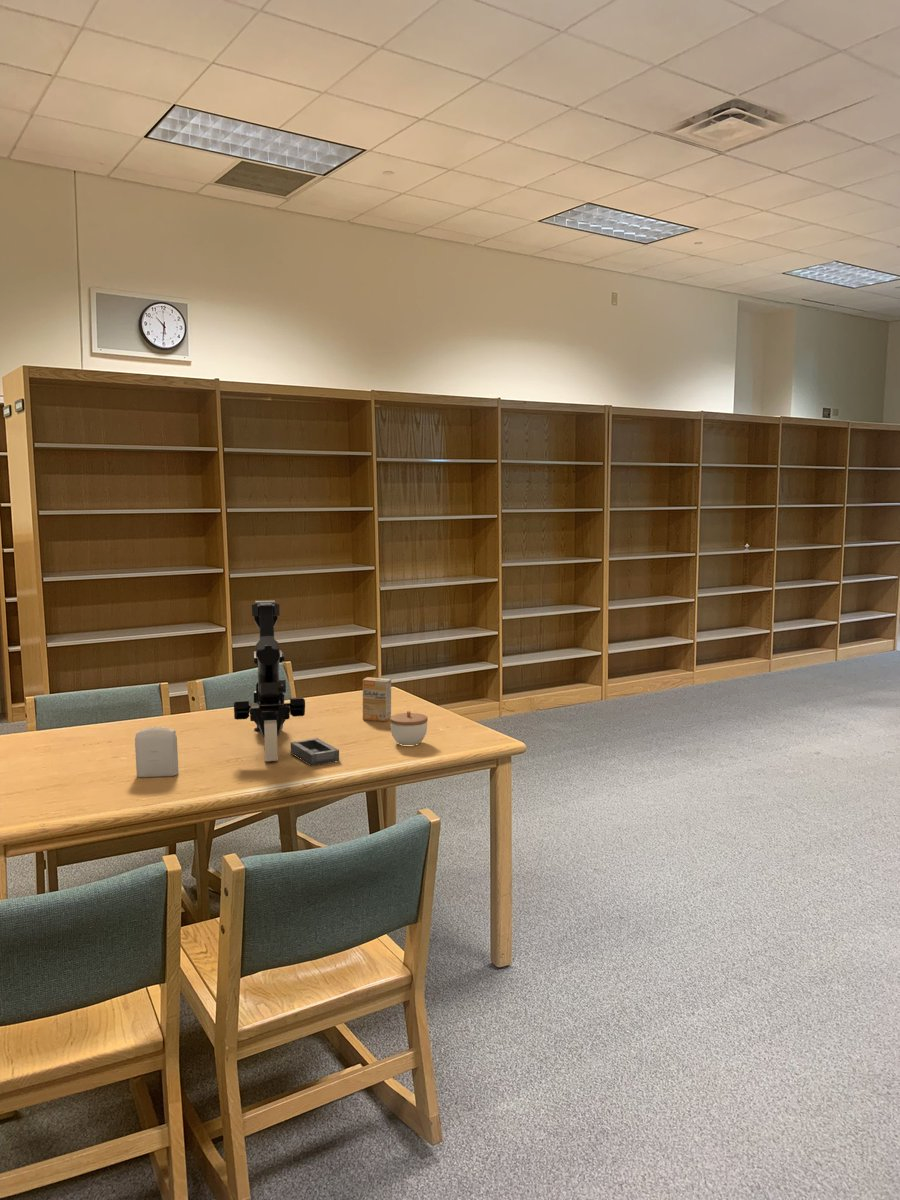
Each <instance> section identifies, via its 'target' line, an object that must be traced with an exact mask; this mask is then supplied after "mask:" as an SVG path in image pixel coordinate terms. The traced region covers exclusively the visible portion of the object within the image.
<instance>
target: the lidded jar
mask: <svg viewBox="0 0 900 1200" xmlns="http://www.w3.org/2000/svg"><path fill="white" fill-rule="evenodd" d="M428 718H429V717H428V716H427V715H425V714H422V713H418V712H411V711H406V712H402V713H396V714H393V715H391V717H390V719H389V722H390V733H391V736H392V737H393V740H395V742H396V743H397V744H398V743H399V744H402V745H416V744H419V743H421V742H422V741H423V740H424V739H425V737H426V735H427V729H428ZM399 744H398V745H399ZM419 745H420V744H419Z"/></svg>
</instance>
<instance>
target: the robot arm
mask: <svg viewBox="0 0 900 1200" xmlns="http://www.w3.org/2000/svg"><path fill="white" fill-rule="evenodd" d="M280 606H281V605H280V603H276V600H255V603H254V604H251V617H253V618H254V619H253V620H254V621H253V622H254V624H255V625H256V627H257V629H258V630H259V640H258V641H257V642H256V647H255V648H256V650H255V651H253V657H254V658H253V662H254V663H253V664H254V665H256V667H257V683H256V685H255V690H254V691H253V703H250V702H249V699H244V700H243V699H241V700H235V701H234V702H233V715H234V718H233V719H234V720H237V721H239V720H247V719H248V718H250V719H249V720H250V721H251V722H254V723H255V725H256V727H255V728H253V731H258V732H260V734H261V735H262V737H263V738H264V737H265V732H264V720H276V721H277V737H279V736H280V733H281V730H282V728H283V726H284V724H285V721H286V720H289V719H290V718H291V717H293V718H294V717H303V716H305V715H306V699H305V698H304V697H290V698H289V702H288V703H285V694H284V693H286V692H287V684H286V683H287V681H286V679H280V672H279V671H280V664H282V663H283V661H285V655H284V653H283V651H282V650H280V646H279V645H280V643H279V642H278V641H277V640H276V639H275V626H276V624H277V623H278V616H280V615H281V610H280V608H281V607H280ZM290 716H291V717H290Z"/></svg>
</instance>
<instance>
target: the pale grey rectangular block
mask: <svg viewBox="0 0 900 1200" xmlns="http://www.w3.org/2000/svg"><path fill="white" fill-rule="evenodd" d="M264 732H265V737H263V738H264V761H265V762H274V761H275V762H276V761H278V736H277V721H276V720H264Z"/></svg>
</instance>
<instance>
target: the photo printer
mask: <svg viewBox="0 0 900 1200" xmlns="http://www.w3.org/2000/svg"><path fill="white" fill-rule="evenodd" d="M134 747H135V750H134V751H135V766H136V767H135V768H136V776H138V777H137V778H150V777H151V778H153V777H173V776H174V775H176V776H178V775H179V756H178V755H179V753H178V752H179V751H178V737H177V734H176V730H175V729H173V728H169V727H166V726H165V727H162V726H153V727H146V728H142V729H139V730H137V731H136V733H135V737H134ZM174 777H175V776H174Z"/></svg>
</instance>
